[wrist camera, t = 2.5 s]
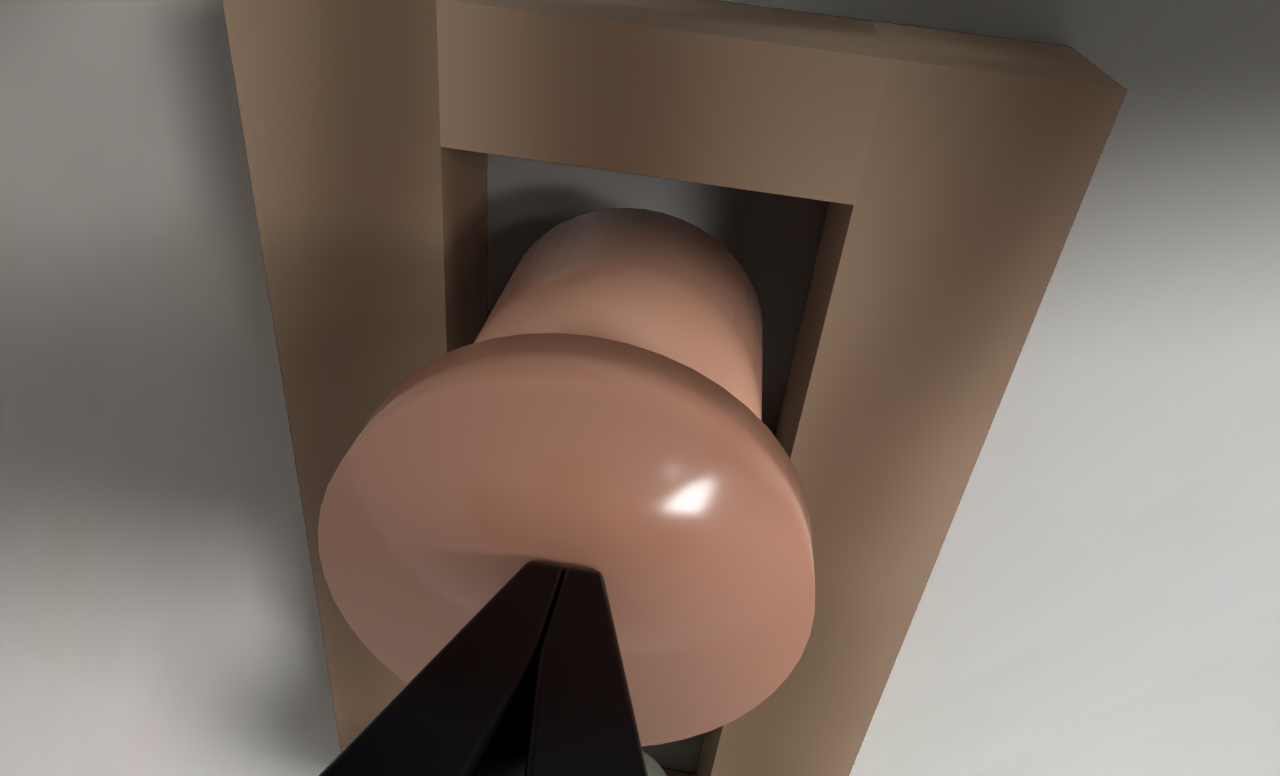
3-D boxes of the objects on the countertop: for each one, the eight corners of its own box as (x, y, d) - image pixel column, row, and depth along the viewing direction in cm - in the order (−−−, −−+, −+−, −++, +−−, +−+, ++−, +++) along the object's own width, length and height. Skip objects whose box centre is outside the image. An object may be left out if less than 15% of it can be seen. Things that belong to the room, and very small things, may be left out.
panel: (1071, 46, 13) (1126, 90, 11) (787, 831, 25) (789, 921, 23) (300, -54, 14) (217, -31, 12) (388, 761, 26) (355, 843, 24)
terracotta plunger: (833, 198, 13) (873, 434, 8) (766, 482, 16) (764, 780, 11) (468, 146, 13) (288, 345, 8) (471, 436, 16) (341, 706, 11)
